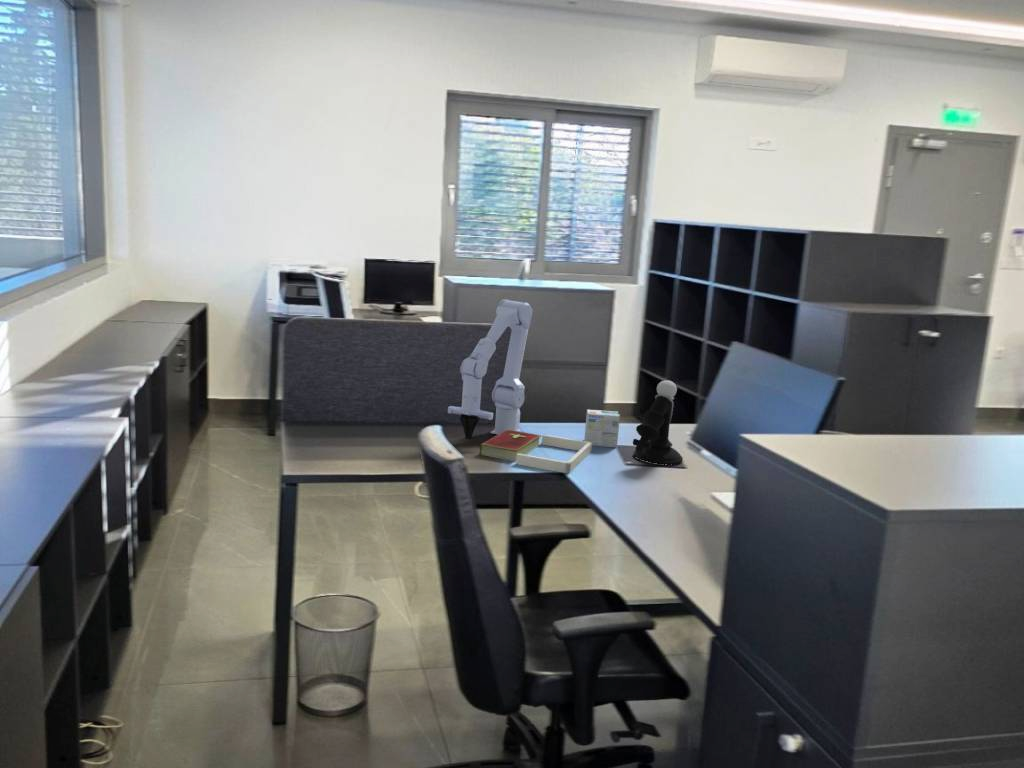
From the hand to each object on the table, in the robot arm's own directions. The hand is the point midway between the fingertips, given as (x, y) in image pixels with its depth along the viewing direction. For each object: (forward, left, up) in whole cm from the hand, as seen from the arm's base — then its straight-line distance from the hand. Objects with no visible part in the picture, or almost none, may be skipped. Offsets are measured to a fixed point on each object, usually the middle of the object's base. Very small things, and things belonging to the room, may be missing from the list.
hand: (468, 438), depth 270 cm
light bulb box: (-24, +37, -2) cm, 44 cm away
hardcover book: (0, +14, -2) cm, 14 cm away
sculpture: (-14, +56, -2) cm, 58 cm away
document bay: (0, +28, -1) cm, 28 cm away
